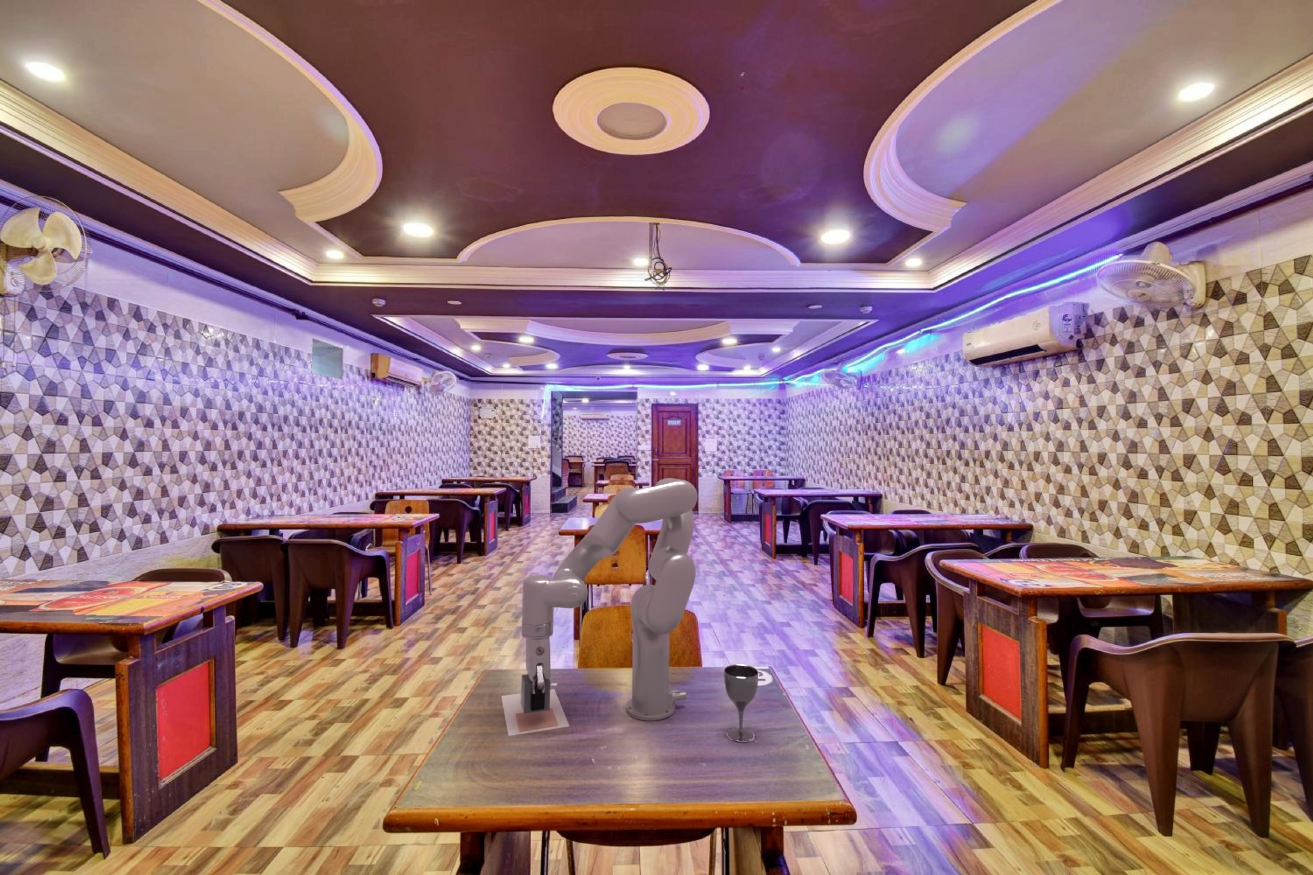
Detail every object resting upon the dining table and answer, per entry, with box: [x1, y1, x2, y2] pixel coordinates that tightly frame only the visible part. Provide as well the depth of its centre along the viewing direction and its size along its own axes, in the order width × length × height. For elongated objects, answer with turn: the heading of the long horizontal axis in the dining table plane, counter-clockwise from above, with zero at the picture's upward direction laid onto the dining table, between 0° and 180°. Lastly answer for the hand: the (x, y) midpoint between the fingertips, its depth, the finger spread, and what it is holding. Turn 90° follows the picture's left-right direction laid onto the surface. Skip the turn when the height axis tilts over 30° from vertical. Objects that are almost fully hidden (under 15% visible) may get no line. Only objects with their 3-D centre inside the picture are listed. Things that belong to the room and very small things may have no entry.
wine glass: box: [723, 663, 759, 742], centre depth 131 cm, size 8×8×15 cm
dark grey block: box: [520, 673, 551, 714], centre depth 134 cm, size 6×6×7 cm
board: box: [501, 688, 570, 737], centre depth 139 cm, size 14×22×2 cm, turn 20°
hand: (535, 702), depth 134 cm, fingers closed on dark grey block, 5 cm apart
